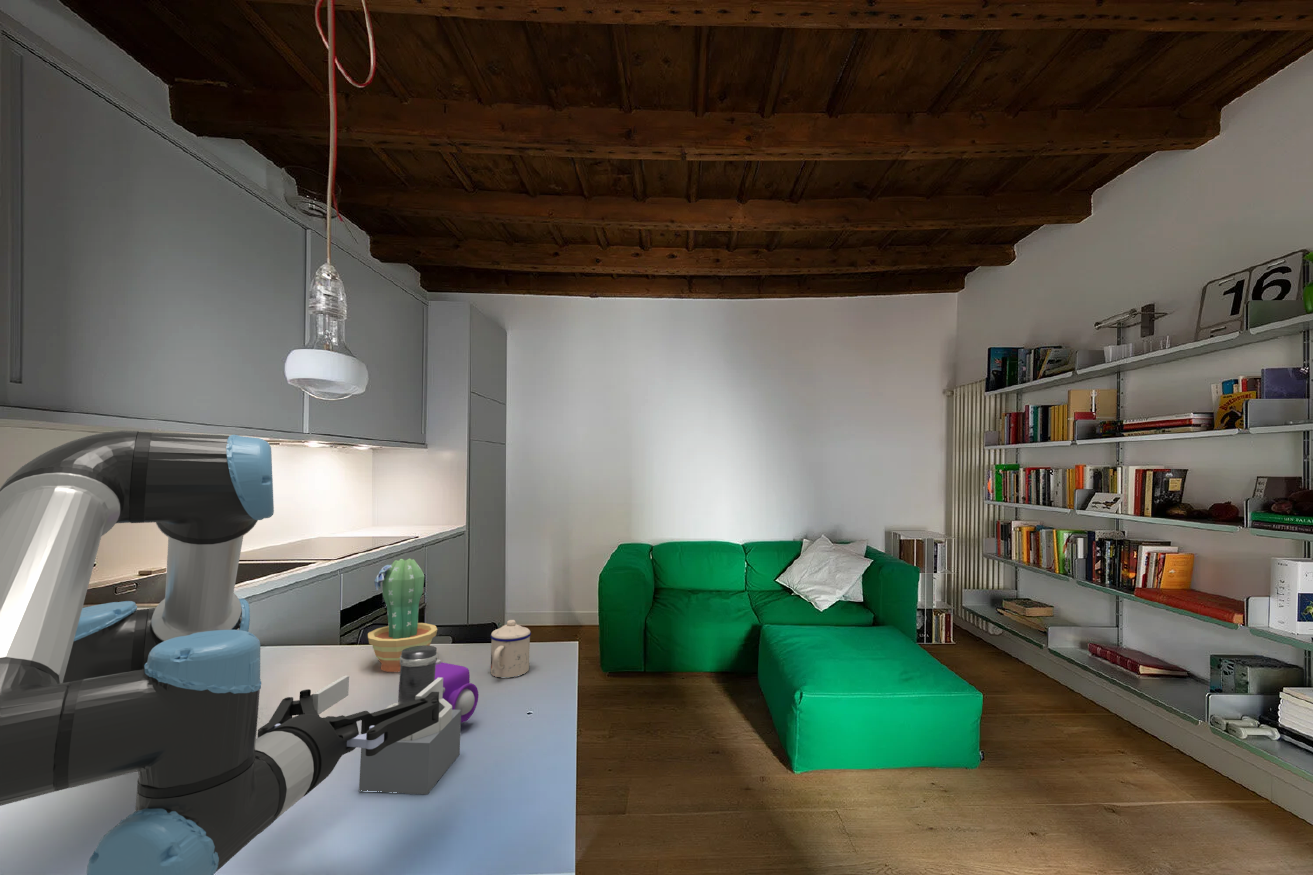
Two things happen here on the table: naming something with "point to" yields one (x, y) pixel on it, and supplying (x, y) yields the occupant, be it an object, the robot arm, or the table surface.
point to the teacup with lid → (510, 650)
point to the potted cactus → (400, 614)
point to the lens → (416, 671)
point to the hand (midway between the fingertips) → (393, 686)
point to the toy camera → (457, 688)
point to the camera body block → (414, 757)
